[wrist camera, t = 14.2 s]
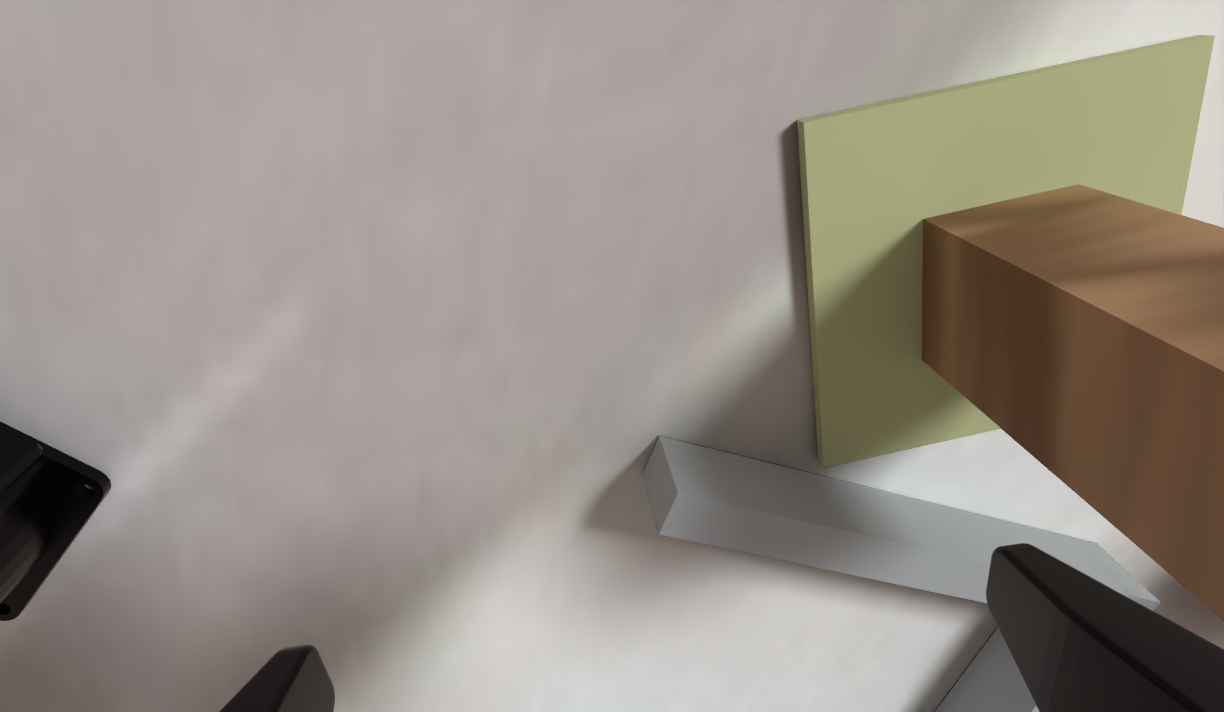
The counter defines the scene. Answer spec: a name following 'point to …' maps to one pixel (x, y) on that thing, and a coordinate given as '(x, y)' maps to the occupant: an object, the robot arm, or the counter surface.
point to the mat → (957, 180)
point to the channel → (863, 542)
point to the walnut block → (1095, 356)
